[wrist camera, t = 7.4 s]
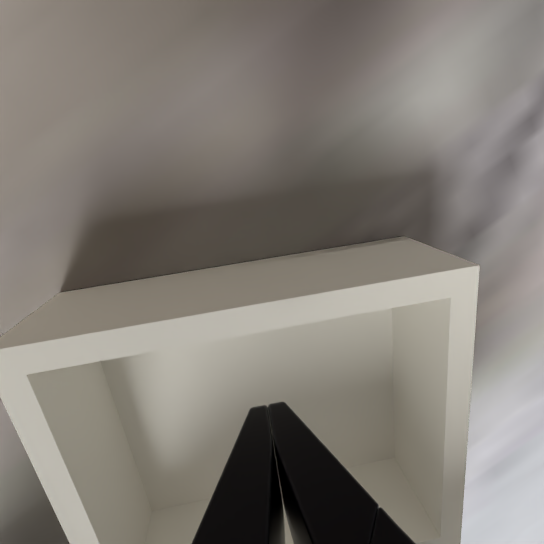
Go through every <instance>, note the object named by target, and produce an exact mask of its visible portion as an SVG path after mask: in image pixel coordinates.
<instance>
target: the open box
mask: <svg viewBox="0 0 544 544" xmlns="http://www.w3.org/2000/svg"><path fill="white" fill-rule="evenodd" d="M479 269H480V265H478V264H475V263H473V262H470V261H468V260H465V259H462V258H460V257H457V256H455V255H452V254H449V253H447V252H444V251H442V250H439V249H437V248H434V247H431V246H429V245H426V244H424V243H421V242H419V241H416V240H413V239H411V238H408V237H406V236H402V237H396V238H390V239H384V240H378V241H372V242H366V243H359V244H353V245H347V246H341V247H335V248H329V249H323V250H317V251H311V252H305V253H298V254H292V255H286V256H280V257H274V258H268V259H262V260H256V261H250V262H244V263H237V264H231V265H225V266H219V267H213V268H207V269H201V270H195V271H189V272H183V273H177V274H170V275H164V276H158V277H152V278H146V279H140V280H134V281H128V282H122V283H116V284H109V285H103V286H97V287H91V288H85V289H79V290H73V291H67V292H61V293H58V294H57V295H56V296H54V297H53V298H52V299H50V300H49V301H48V302H46V303H45V304H44V305H42V306H41V307H40V308H38V309H37V310H36V311H34V312H33V313H32V314H30V315H29V316H28V317H26V318H25V319H24V320H22V321H21V322H20V323H18V324H17V325H16V326H14V327H13V328H12V329H10V330H9V331H8V332H6V333H5V334H4V335H2V336H1V337H0V398H1V400H2V402H3V404H4V406H5V408H6V411H7V413H8V415H9V417H10V419H11V421H12V423H13V425H14V427H15V429H16V432H17V434H18V436H19V438H20V440H21V442H22V444H23V446H24V448H25V451H26V453H27V455H28V457H29V459H30V461H31V463H32V465H33V467H34V469H35V472H36V474H37V476H38V478H39V480H40V482H41V484H42V486H43V488H44V490H45V493H46V495H47V497H48V499H49V501H50V503H51V505H52V507H53V509H54V512H55V514H56V516H57V518H58V520H59V522H60V524H61V526H62V528H63V530H64V533H65V535H66V537H67V539H68V541H69V543H70V544H191V543H192V541H193V539H194V536H195V534H196V532H197V530H198V527H199V525H200V523H201V520H202V518H203V516H204V513H205V511H206V509H207V506H208V504H209V502H210V499H211V497H212V495H213V493H214V490H215V488H216V486H217V483H218V481H219V479H220V476H221V474H222V472H223V469H224V467H225V465H226V463H227V460H228V458H229V456H230V453H231V451H232V449H233V446H234V444H235V442H236V439H237V437H238V435H239V432H240V430H241V428H242V426H243V423H244V421H245V419H246V416H247V414H248V412H249V410H250V408H252V407H256V406H261V405H266V406H267V407H268V405H269V404H271V403H277V402H285V403H286V404H287V405H288V406H289V407H290V408H291V409H292V410H293V411H294V412H295V413H296V415H297V416H298V417H299V418H300V419H301V420H302V421H303V422H304V423H305V424H306V425H307V427H308V428H309V429H310V430H311V431H312V432H313V433H314V434H315V435H316V436H317V438H318V439H319V440H320V441H321V442H322V443H323V444H324V445H325V446H326V447H327V448H328V450H329V451H330V452H331V453H332V454H333V455H334V456H335V457H336V458H337V459H338V460H339V462H340V463H341V464H342V465H343V466H344V467H345V468H346V469H347V470H348V471H349V473H350V474H351V475H352V476H353V477H354V478H355V479H356V480H357V481H358V482H359V483H360V485H361V486H362V487H363V488H364V489H365V490H366V491H367V492H368V493H369V494H370V495H371V497H372V498H373V499H374V500H375V501H376V502H377V503H378V505H379V507H381V508H383V509H384V511H385V512H386V513H387V514H388V515H389V516H390V517H391V518H392V519H393V520H394V522H395V523H396V524H397V525H398V526H399V527H400V528H401V529H402V530H403V531H404V532H405V533H406V534H407V535H408V536H409V537H410V538H411V539H412V540H413V541H414V542H415V543H416V544H460V541H461V527H462V513H463V498H464V484H465V470H466V455H467V441H468V427H469V412H470V398H471V384H472V369H473V355H474V341H475V326H476V312H477V298H478V283H479ZM268 412H269V411H268ZM269 419H270V417H269ZM270 425H271V424H270ZM271 431H272V430H271ZM272 437H273V436H272ZM273 444H274V443H273ZM274 450H275V449H274ZM275 456H276V455H275ZM276 463H277V461H276ZM277 469H278V468H277ZM278 475H279V474H278ZM279 482H280V480H279ZM280 488H281V487H280ZM281 494H282V493H281ZM282 501H283V499H282ZM283 510H284V524H285V544H294V543H293V539H292V536H291V532H290V528H289V525H288V521H287V517H286V513H285V509H284V504H283Z"/></svg>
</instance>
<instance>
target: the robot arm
mask: <svg viewBox="0 0 544 544" xmlns="http://www.w3.org/2000/svg"><path fill="white" fill-rule="evenodd" d="M268 411H269V412H268ZM269 417H270V419H269ZM270 424H271V425H270ZM271 430H272V431H271ZM272 436H273V437H272ZM273 443H274V444H273ZM274 449H275V450H274ZM275 455H276V456H275ZM276 461H277V463H276ZM277 468H278V469H277ZM278 474H279V475H278ZM279 480H280V482H279ZM280 487H281V488H280ZM281 493H282V494H281ZM282 499H283V501H282ZM283 504H284V509H285V513H286V517H287V521H288V525H289V528H290V532H291V536H292V539H293V543H294V544H416V543H415V542H414V541H413V540H412V539H411V538H410V537H409V536H408V535H407V534H406V533H405V532H404V531H403V530H402V529H401V528H400V527H399V526H398V525H397V524H396V523H395V522H394V520H393V519H392V518H391V517H390V516H389V515H388V514H387V513H386V512H385V511H384V509H383V508H381V507H379V505H378V503H377V502H376V501H375V500H374V499H373V498H372V497H371V495H370V494H369V493H368V492H367V491H366V490H365V489H364V488H363V487H362V486H361V485H360V483H359V482H358V481H357V480H356V479H355V478H354V477H353V476H352V475H351V474H350V473H349V471H348V470H347V469H346V468H345V467H344V466H343V465H342V464H341V463H340V462H339V460H338V459H337V458H336V457H335V456H334V455H333V454H332V453H331V452H330V451H329V450H328V448H327V447H326V446H325V445H324V444H323V443H322V442H321V441H320V440H319V439H318V438H317V436H316V435H315V434H314V433H313V432H312V431H311V430H310V429H309V428H308V427H307V425H306V424H305V423H304V422H303V421H302V420H301V419H300V418H299V417H298V416H297V415H296V413H295V412H294V411H293V410H292V409H291V408H290V407H289V406H288V405H287V404H286V403H285V402H277V403H271V404H269V405H268V407H267V406H266V405H261V406H256V407H252V408H250V410H249V412H248V414H247V416H246V419H245V421H244V423H243V426H242V428H241V430H240V432H239V435H238V437H237V439H236V442H235V444H234V446H233V449H232V451H231V453H230V456H229V458H228V460H227V463H226V465H225V467H224V469H223V472H222V474H221V476H220V479H219V481H218V483H217V486H216V488H215V490H214V493H213V495H212V497H211V499H210V502H209V504H208V506H207V509H206V511H205V513H204V516H203V518H202V520H201V523H200V525H199V527H198V530H197V532H196V534H195V536H194V539H193V541H192V543H191V544H285V524H284V510H283Z"/></svg>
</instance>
